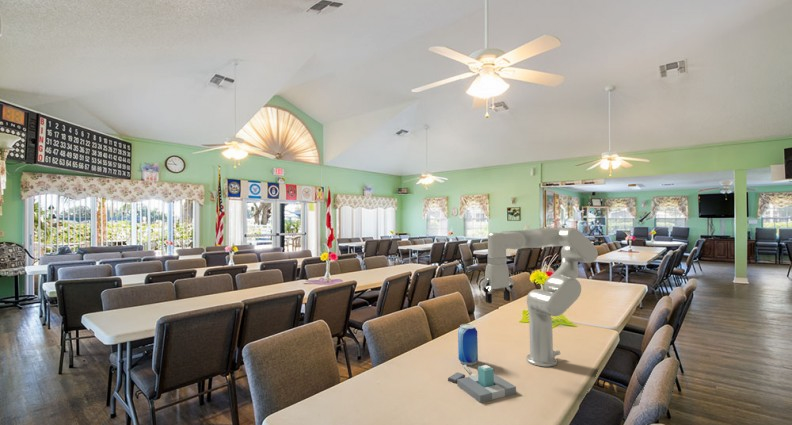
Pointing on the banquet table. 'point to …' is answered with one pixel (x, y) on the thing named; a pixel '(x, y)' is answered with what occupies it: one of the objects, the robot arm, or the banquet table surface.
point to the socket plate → (486, 388)
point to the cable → (468, 370)
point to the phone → (456, 377)
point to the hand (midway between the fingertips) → (497, 301)
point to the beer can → (467, 344)
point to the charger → (485, 376)
